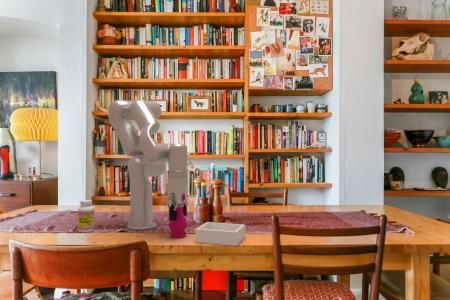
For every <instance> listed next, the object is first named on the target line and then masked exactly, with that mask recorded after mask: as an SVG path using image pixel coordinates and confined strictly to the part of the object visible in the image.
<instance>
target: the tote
mask: <svg viewBox="0 0 450 300" xmlns="http://www.w3.org/2000/svg"><path fill="white" fill-rule="evenodd" d="M194 233H195V234H194V236H195V240H194V242H195V244H197V243H198V244H207V245H208V244H209V245H220V246H221V245H222V246H233V247H237V246H238V245H239V244H240V243H241V242H242V241H243V240H244V239H245V238H246V224H241V223H226V222H212V221H210V222H209V221H206V222H205V223H203V224H202V225H200V226H198V227H197V228H195V232H194Z"/></svg>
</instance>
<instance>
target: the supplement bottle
mask: <svg viewBox="0 0 450 300" xmlns="http://www.w3.org/2000/svg"><path fill="white" fill-rule="evenodd" d="M79 204H80V206H78V208H77V232H79V233H91V232H93V231H95V207H94V206H93V205H92V204H93V200H92V199H83V200H80V201H79Z"/></svg>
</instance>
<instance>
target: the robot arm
mask: <svg viewBox="0 0 450 300" xmlns="http://www.w3.org/2000/svg"><path fill="white" fill-rule="evenodd" d="M107 109H108V110H107V116H108V120H109V123H110V125H111V126H112V129H113V130H114V131H115V133H116V135H117V137H118V140H119V142H120V144H121V146H122V150H123V152H124V154H125V155H126V156H127V157H130V159H129V161H128V163H127V171H128V175H129V186H130V187H129V193H130V196H129V199H130V204H129V205H130V206H129V207H130V209H129V211H130V216H124V217H123V219H122V220H123V222H126V223H127V222H128V223H127V224H126V229H127V230H132V231H133V230H134V231H143V230H151V229H154V228H156V226H157V223H156V222H153V184H152V183H151V181H150V178H149V177H159V176H162V175H164V173H166V169H167V164H166V163H168V174H167V175H168V183H167V193H166V202H167V207H168V208H167V209H168V220H169V221H170V220H174V221H176V220H177V210H176V208H177V205H178V204H181V203H183V202H184V206H183V214H184V217H186V216H188V209H187V206H188V203H187V202H188V184H187V183H188V182H187V179H188V146H187V145H186V143H185V144H184V143H158V142H157V141H156V139H154V138H153V137H152V135H155V134H156V133H157V132H158V131H159V130H160V126H161V125H160V121H158V119H160V117H161V115H162V107H161V105H160V104H159V103H158V102H156V101H154V100H147V99H146V100H145V99H137V100H136V99H135V100H128V99H127V100H126V99H115V100H113V101H111V102H110V104H109V105H108V108H107ZM128 119H129V120H134V121H135V123H136V126H137V127H138V129H139V131H140V135H139V134H138V132H137V129H136V128H135V126H134V125H133V123H131V122H130V121H129V120H128ZM183 193H185V200H184V201H183V202H182V200H181V198H182V195H183ZM174 197H175V198H174ZM174 205H175V206H174Z"/></svg>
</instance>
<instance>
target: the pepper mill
mask: <svg viewBox="0 0 450 300" xmlns="http://www.w3.org/2000/svg"><path fill="white" fill-rule="evenodd" d="M174 198H175V197H174ZM181 200H182V202H183V201H184V200H185V193H183V195H182V198H181ZM174 206H175V205H174ZM183 206H184V202H183V203H181V204H178V205H177V208H176V210H177V220H176V221H174V220H169V221H168V222H169V223H168V228H169V230H170V232H169V237H170V238H171V239H183V238H185V237H186V235H187V234H186V233H187V232H186V231H185V230H186V229H187V227H188V223H187V219H186V216H184V214H183Z"/></svg>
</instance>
